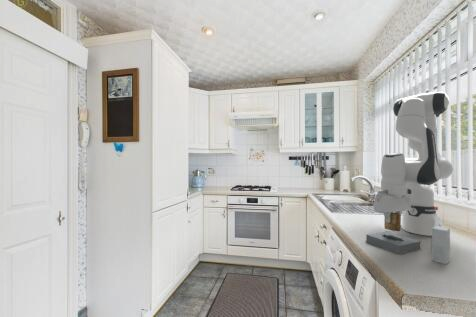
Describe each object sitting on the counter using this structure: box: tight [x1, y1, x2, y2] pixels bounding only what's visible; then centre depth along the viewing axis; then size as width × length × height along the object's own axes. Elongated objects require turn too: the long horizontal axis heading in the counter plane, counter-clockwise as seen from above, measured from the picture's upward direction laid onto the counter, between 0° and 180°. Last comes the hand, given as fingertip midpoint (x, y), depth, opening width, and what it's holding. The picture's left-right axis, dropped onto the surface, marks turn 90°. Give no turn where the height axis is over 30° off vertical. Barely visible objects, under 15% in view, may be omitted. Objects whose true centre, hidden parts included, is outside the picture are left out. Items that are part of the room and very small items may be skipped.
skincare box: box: [431, 226, 451, 265], centre depth 81 cm, size 6×4×12 cm
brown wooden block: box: [384, 212, 402, 232], centre depth 95 cm, size 6×4×7 cm, turn 23°
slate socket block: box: [365, 230, 421, 255], centre depth 95 cm, size 14×14×3 cm
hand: (392, 221), depth 95 cm, fingers closed on brown wooden block, 4 cm apart
